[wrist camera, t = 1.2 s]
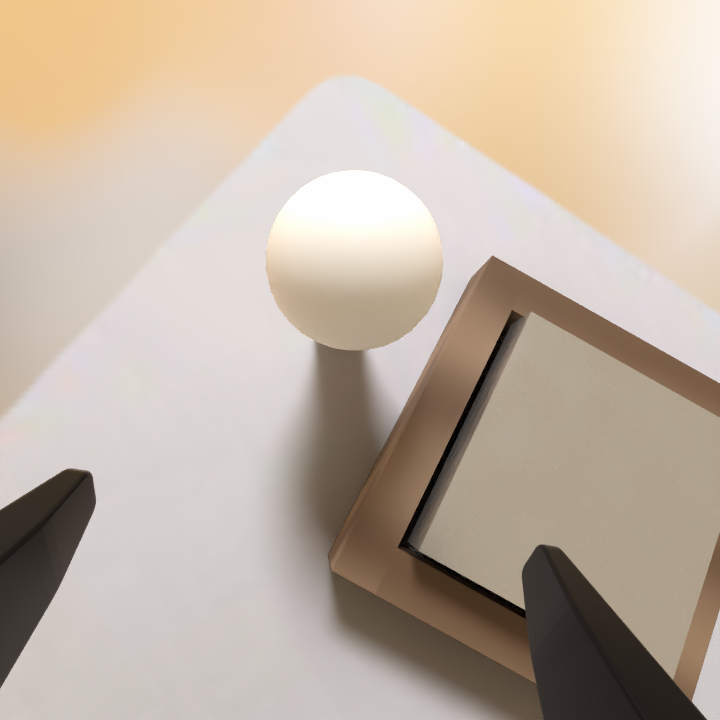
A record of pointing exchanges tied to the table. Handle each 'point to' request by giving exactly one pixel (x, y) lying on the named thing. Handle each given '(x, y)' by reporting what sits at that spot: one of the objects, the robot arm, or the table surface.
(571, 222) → the table surface
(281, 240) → the lightbulb
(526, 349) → the platform
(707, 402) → the brown picture frame
